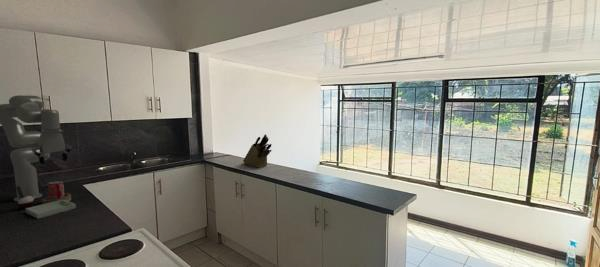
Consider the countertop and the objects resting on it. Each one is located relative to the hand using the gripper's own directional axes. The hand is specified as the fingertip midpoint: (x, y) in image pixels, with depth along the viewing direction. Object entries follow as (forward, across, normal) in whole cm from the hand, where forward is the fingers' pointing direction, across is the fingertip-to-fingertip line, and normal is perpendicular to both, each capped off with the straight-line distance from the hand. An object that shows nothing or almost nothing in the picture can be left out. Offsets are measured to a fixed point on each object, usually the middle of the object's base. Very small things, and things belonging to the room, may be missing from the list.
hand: (53, 162), depth 151 cm
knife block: (+25, -140, +33) cm, 146 cm away
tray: (+26, +5, +6) cm, 27 cm away
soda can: (+26, -3, -9) cm, 28 cm away
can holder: (+26, -3, -9) cm, 28 cm away
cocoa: (+26, +10, -12) cm, 31 cm away
